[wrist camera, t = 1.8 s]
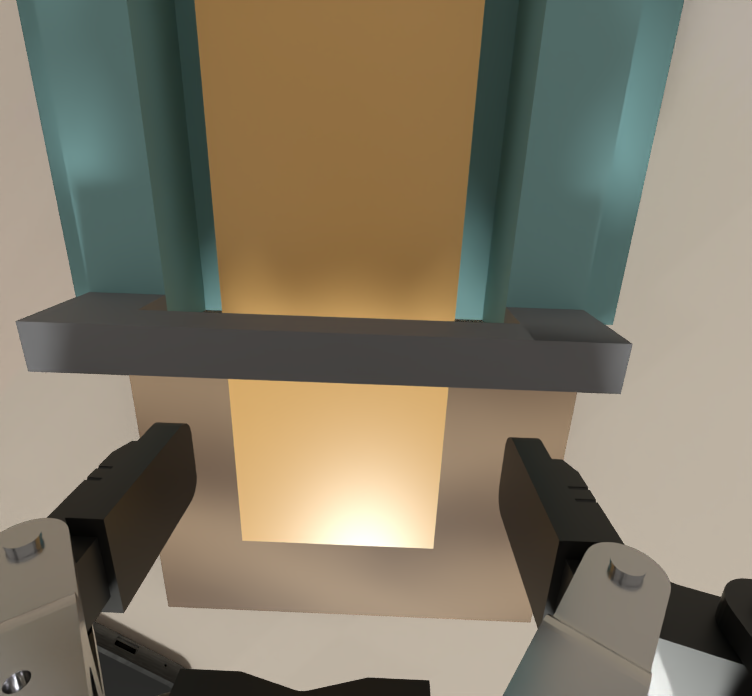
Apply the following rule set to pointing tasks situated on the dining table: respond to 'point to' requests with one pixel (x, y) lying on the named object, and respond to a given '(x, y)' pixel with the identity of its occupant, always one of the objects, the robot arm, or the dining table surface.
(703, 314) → the dining table surface
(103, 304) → the ticket dispenser
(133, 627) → the dining table surface
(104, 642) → the phone
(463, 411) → the walnut mat
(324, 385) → the ticket card
